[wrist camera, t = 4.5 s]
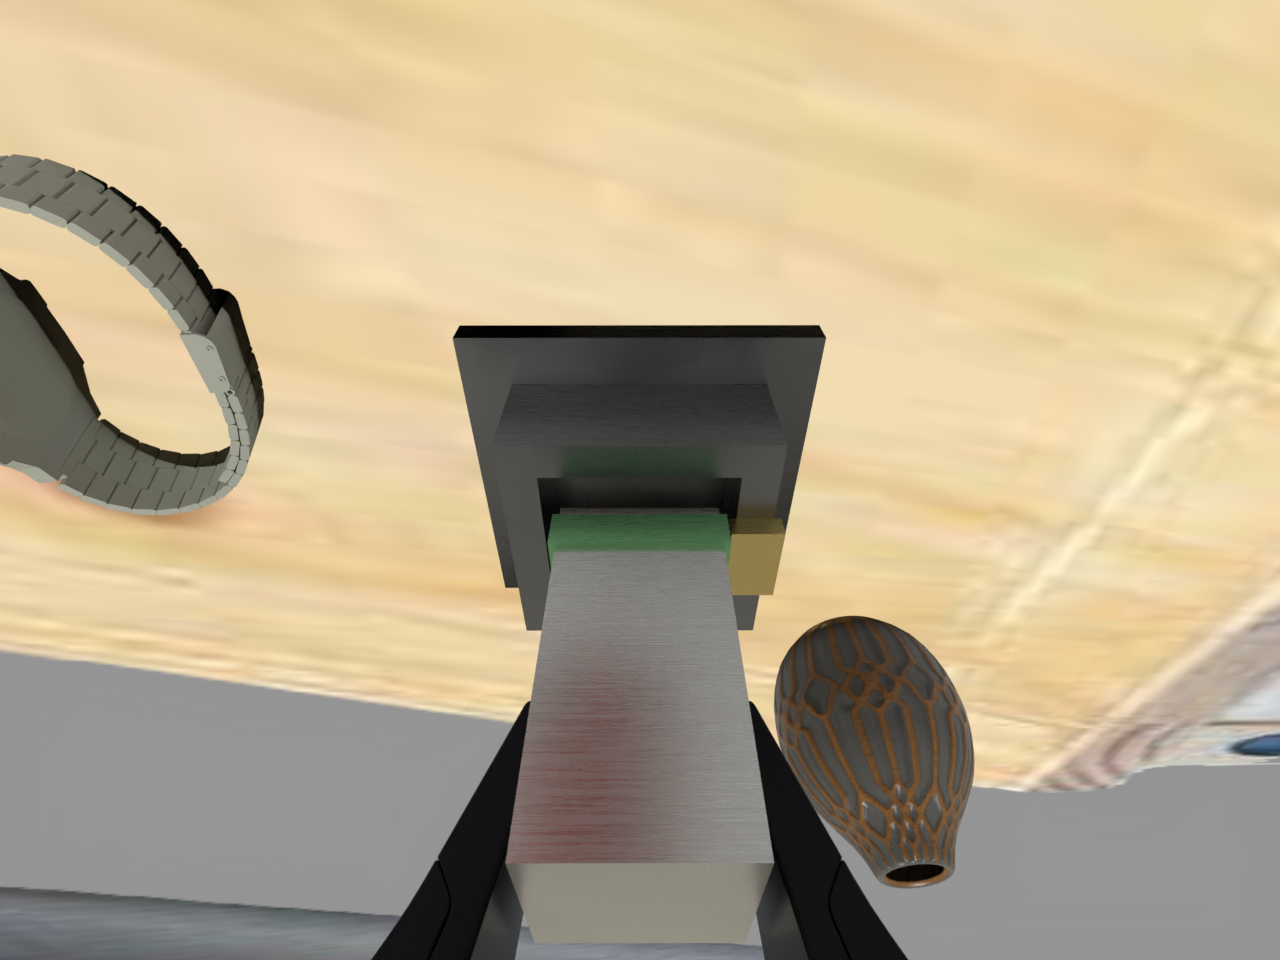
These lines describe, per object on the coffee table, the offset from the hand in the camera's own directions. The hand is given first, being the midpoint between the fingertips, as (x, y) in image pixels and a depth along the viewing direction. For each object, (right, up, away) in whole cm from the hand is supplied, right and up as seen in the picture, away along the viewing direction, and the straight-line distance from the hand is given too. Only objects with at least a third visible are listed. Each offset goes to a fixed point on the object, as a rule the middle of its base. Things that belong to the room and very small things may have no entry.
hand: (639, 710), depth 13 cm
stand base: (0, +5, +7) cm, 9 cm away
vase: (+9, -2, +13) cm, 16 cm away
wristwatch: (-14, +9, +4) cm, 17 cm away
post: (0, +3, +3) cm, 4 cm away
